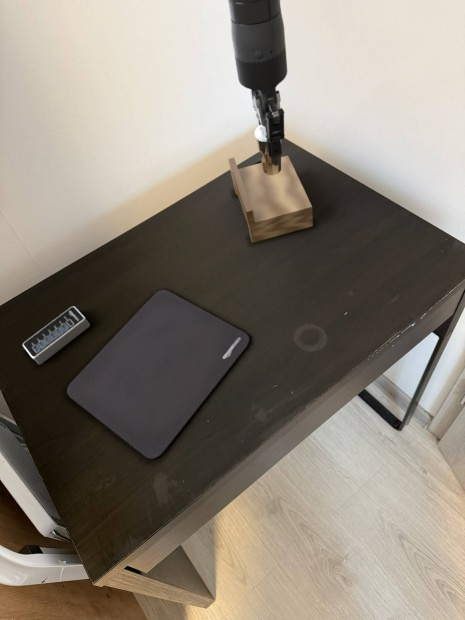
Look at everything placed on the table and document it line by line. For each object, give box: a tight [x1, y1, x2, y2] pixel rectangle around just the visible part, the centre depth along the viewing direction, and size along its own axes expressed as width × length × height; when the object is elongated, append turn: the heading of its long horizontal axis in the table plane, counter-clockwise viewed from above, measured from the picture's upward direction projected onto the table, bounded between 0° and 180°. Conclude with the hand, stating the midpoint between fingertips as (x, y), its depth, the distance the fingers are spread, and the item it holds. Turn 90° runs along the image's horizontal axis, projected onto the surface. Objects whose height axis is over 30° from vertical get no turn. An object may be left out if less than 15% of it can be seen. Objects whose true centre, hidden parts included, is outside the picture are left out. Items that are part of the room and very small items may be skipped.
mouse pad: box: [66, 289, 250, 460], centre depth 78 cm, size 25×21×1 cm
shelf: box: [227, 155, 314, 244], centre depth 92 cm, size 12×16×8 cm
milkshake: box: [254, 124, 282, 176], centre depth 82 cm, size 4×5×10 cm
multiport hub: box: [22, 305, 91, 365], centre depth 84 cm, size 4×11×2 cm, turn 133°
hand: (271, 145), depth 82 cm, fingers closed on milkshake, 5 cm apart
